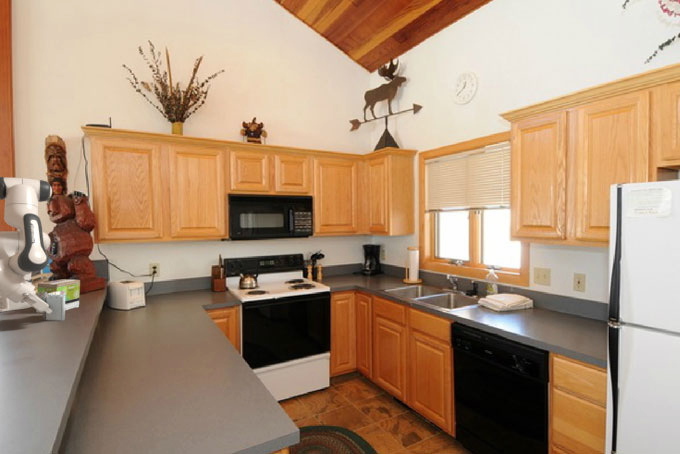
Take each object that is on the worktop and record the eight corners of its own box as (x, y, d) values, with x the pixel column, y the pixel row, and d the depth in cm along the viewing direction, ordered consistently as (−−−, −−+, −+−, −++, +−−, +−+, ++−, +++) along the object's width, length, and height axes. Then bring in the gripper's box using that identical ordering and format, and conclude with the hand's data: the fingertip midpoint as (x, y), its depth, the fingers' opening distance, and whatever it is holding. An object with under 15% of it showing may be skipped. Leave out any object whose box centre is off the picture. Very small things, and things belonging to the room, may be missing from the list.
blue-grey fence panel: (46, 320, 158) (46, 294, 158) (48, 319, 159) (48, 294, 159) (63, 320, 158) (63, 295, 158) (65, 319, 159) (65, 294, 159)
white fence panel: (42, 320, 157) (42, 292, 157) (56, 315, 167) (57, 288, 167) (45, 320, 158) (45, 292, 158) (59, 315, 167) (60, 288, 167)
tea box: (56, 314, 170) (56, 283, 170) (35, 313, 170) (36, 283, 170) (79, 307, 185) (80, 279, 185) (61, 306, 185) (61, 278, 185)
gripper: (33, 289, 144) (62, 310, 151) (24, 283, 157) (51, 302, 164) (18, 302, 140) (49, 322, 148) (10, 294, 154) (39, 313, 161)
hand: (50, 311), depth 156 cm, fingers closed
